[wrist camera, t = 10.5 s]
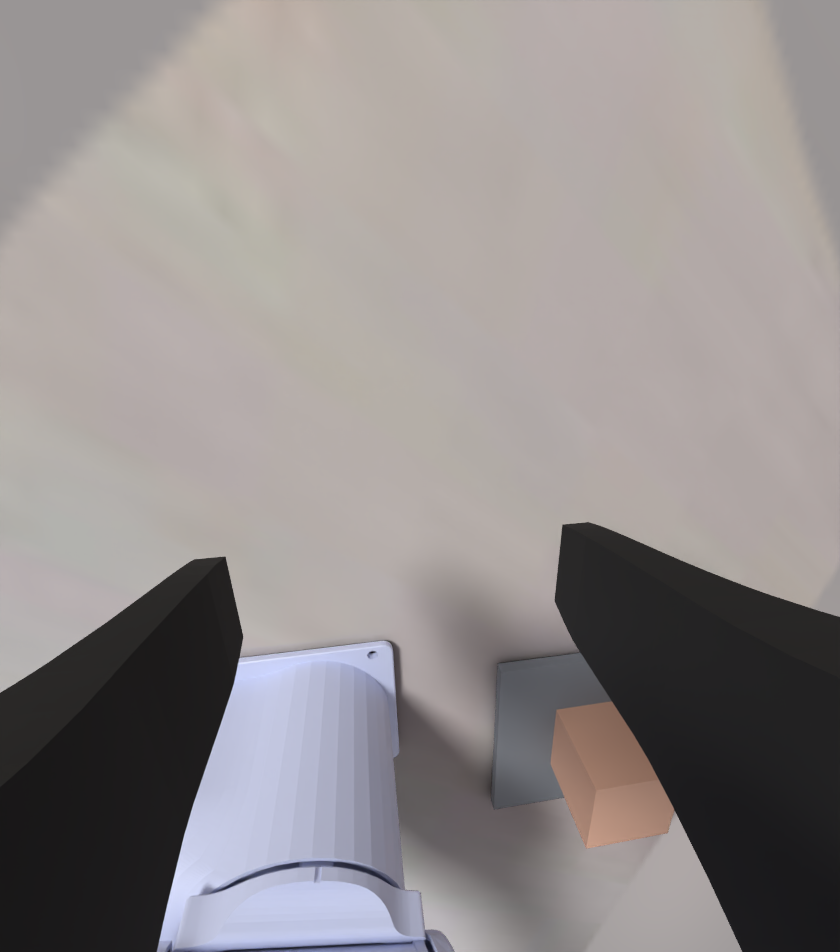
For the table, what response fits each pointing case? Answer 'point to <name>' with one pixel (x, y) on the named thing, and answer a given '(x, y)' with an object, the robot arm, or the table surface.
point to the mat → (535, 723)
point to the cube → (607, 777)
